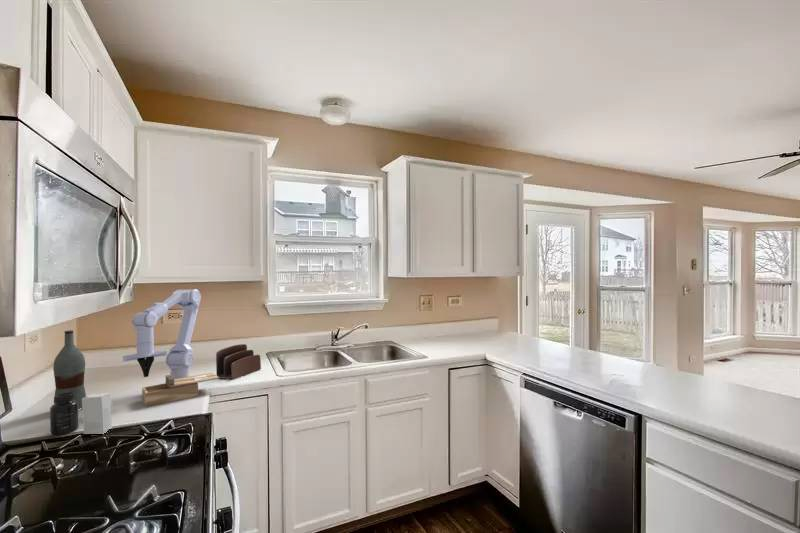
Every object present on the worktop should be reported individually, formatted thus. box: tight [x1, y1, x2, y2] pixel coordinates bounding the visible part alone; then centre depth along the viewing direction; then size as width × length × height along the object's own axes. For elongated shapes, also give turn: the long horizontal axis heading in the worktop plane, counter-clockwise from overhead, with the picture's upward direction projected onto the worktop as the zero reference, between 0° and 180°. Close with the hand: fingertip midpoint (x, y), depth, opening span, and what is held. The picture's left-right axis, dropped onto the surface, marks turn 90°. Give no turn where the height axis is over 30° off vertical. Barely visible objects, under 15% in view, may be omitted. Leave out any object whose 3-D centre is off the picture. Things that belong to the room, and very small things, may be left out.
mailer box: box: [141, 383, 199, 407], centre depth 153 cm, size 11×18×5 cm, turn 131°
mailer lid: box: [164, 372, 220, 388], centre depth 159 cm, size 11×18×3 cm, turn 131°
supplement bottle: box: [49, 392, 79, 436], centre depth 122 cm, size 7×7×12 cm
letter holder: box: [215, 343, 262, 381], centre depth 188 cm, size 10×20×14 cm, turn 160°
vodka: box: [52, 329, 87, 410], centre depth 143 cm, size 9×9×30 cm
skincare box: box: [81, 392, 113, 435], centre depth 119 cm, size 6×4×12 cm
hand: (146, 376), depth 150 cm, fingers closed
